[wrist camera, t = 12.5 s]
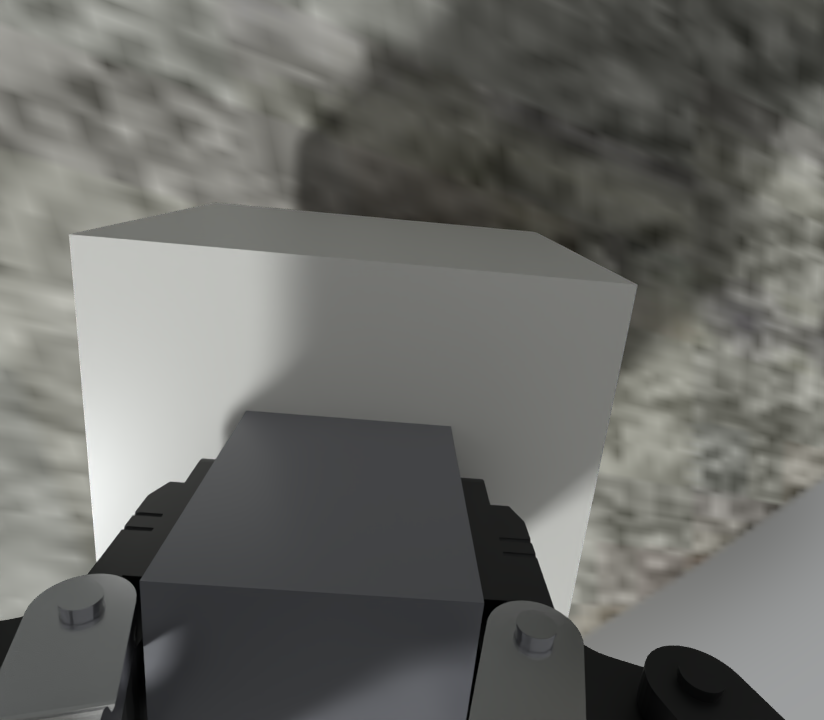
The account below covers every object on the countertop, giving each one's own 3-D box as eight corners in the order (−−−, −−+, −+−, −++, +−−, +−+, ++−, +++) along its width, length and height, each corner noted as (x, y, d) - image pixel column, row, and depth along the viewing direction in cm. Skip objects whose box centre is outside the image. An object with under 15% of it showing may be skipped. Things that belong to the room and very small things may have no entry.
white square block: (215, 202, 19) (-202, 292, 6) (535, 232, 19) (816, 377, 6) (218, 488, 22) (-49, 963, 9) (493, 507, 23) (622, 989, 9)
